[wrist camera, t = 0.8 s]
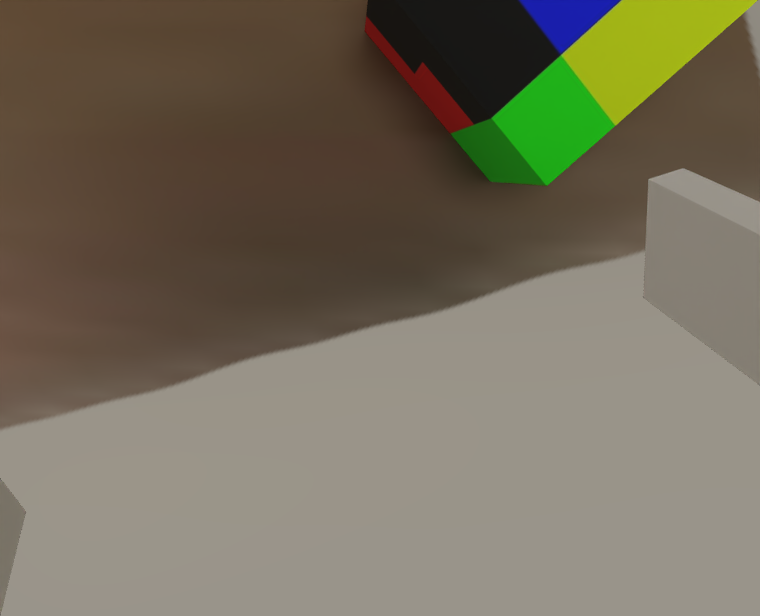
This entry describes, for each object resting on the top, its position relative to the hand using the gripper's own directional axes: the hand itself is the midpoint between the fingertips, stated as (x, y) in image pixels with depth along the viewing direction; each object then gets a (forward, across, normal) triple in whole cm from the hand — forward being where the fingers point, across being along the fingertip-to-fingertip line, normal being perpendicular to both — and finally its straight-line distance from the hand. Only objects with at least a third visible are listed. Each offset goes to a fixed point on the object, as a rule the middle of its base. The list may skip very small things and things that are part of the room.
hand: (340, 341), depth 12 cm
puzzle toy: (+22, +14, -1) cm, 26 cm away
